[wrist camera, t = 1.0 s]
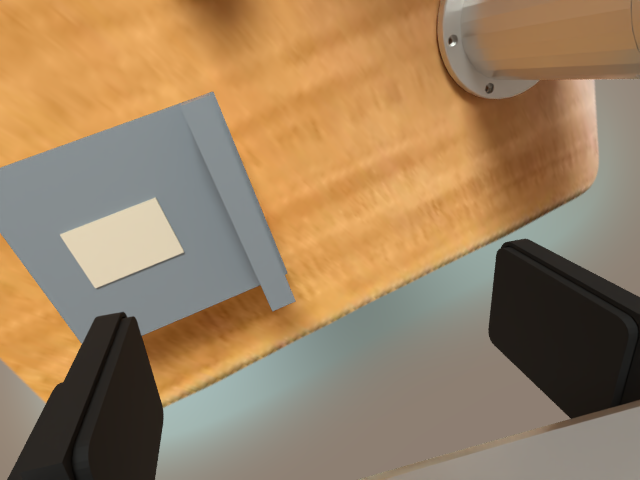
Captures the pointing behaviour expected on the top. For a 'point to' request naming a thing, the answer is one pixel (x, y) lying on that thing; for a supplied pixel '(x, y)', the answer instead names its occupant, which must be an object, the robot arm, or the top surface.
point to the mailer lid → (142, 221)
